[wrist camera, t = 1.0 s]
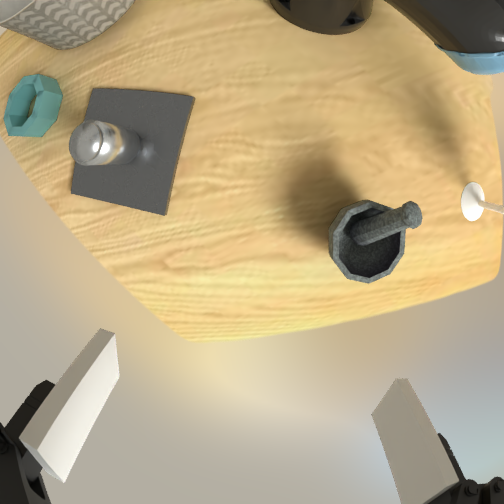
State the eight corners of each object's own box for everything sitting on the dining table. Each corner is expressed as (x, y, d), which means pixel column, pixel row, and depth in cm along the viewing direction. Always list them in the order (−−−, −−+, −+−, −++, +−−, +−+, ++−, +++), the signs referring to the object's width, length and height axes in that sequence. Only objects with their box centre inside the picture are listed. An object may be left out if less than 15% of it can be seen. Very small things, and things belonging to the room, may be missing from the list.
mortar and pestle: (356, 275, 38) (390, 316, 27) (305, 242, 37) (326, 276, 25) (398, 211, 35) (448, 231, 24) (350, 173, 34) (391, 176, 22)
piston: (96, 89, 30) (53, 73, 20) (195, 98, 31) (172, 72, 21) (74, 192, 35) (28, 203, 24) (166, 214, 36) (134, 233, 25)
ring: (32, 82, 28) (14, 78, 24) (68, 78, 29) (50, 72, 24) (18, 135, 31) (0, 135, 26) (52, 137, 32) (32, 136, 27)
